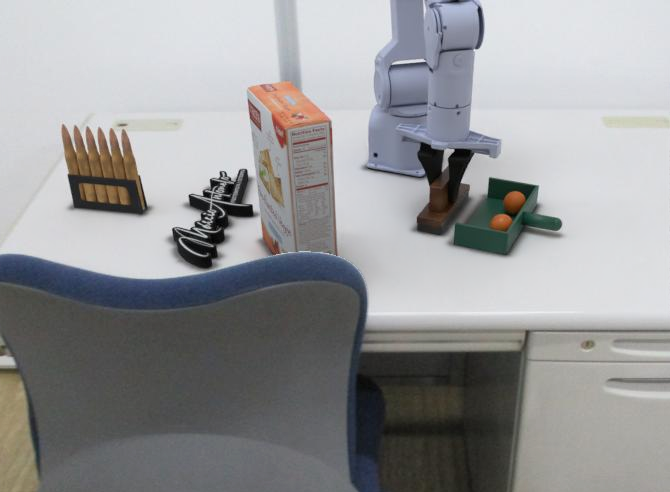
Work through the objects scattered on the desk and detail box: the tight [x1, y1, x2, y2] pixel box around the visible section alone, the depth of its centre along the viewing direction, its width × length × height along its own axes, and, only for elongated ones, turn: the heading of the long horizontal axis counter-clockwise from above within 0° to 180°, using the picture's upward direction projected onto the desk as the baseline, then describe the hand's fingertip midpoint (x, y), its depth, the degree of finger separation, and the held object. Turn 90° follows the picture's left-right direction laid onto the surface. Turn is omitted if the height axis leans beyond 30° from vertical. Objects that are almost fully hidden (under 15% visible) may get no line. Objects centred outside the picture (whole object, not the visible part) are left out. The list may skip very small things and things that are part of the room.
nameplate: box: [171, 168, 254, 269], centre depth 117 cm, size 27×2×10 cm
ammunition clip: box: [60, 123, 149, 215], centre depth 117 cm, size 11×2×12 cm, turn 79°
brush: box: [416, 165, 471, 235], centre depth 117 cm, size 4×13×6 cm, turn 157°
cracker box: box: [246, 80, 338, 256], centre depth 102 cm, size 14×6×21 cm, turn 24°
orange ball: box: [503, 191, 526, 214], centre depth 118 cm, size 3×3×3 cm
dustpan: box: [453, 176, 563, 255], centre depth 115 cm, size 13×16×3 cm
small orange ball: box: [490, 214, 513, 232], centre depth 113 cm, size 3×3×3 cm
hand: (444, 197), depth 118 cm, fingers closed, pressing on brush
